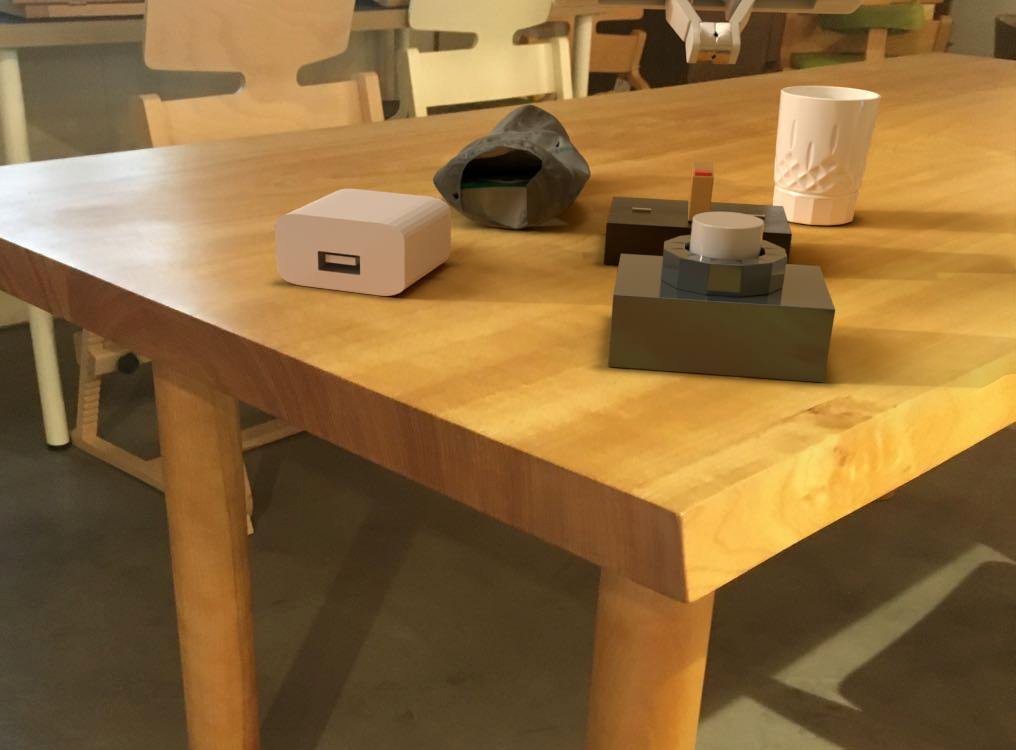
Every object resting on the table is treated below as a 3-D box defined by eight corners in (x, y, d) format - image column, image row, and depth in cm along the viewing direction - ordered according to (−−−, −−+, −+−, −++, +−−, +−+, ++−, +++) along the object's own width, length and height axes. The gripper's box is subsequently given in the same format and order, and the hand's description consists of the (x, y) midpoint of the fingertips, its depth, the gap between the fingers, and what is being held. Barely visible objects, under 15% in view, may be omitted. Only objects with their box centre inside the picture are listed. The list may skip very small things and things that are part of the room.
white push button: (757, 248, 73) (762, 213, 72) (761, 266, 69) (766, 229, 68) (688, 244, 73) (692, 209, 72) (688, 262, 70) (692, 225, 69)
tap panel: (777, 243, 97) (783, 202, 95) (786, 277, 88) (793, 232, 87) (610, 233, 98) (613, 193, 97) (603, 265, 90) (606, 221, 88)
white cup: (822, 203, 110) (840, 84, 105) (879, 224, 103) (902, 98, 99) (746, 209, 107) (761, 87, 102) (801, 230, 101) (820, 101, 96)
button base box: (809, 332, 77) (824, 236, 74) (823, 382, 69) (841, 276, 66) (615, 319, 79) (623, 224, 76) (607, 366, 71) (615, 262, 68)
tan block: (688, 204, 94) (692, 158, 93) (707, 205, 94) (713, 159, 93) (687, 221, 90) (692, 172, 88) (708, 222, 89) (714, 173, 88)
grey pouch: (579, 237, 96) (611, 169, 118) (577, 141, 93) (610, 89, 114) (414, 239, 99) (475, 172, 120) (407, 146, 96) (470, 94, 117)
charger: (478, 245, 94) (404, 298, 81) (366, 233, 96) (277, 282, 84) (480, 181, 92) (404, 225, 79) (365, 170, 94) (273, 211, 82)
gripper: (849, -84, 82) (868, 95, 78) (538, -93, 81) (541, 87, 77) (882, -164, 76) (905, 25, 72) (546, -175, 75) (550, 15, 71)
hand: (713, 57), depth 74 cm, fingers closed
